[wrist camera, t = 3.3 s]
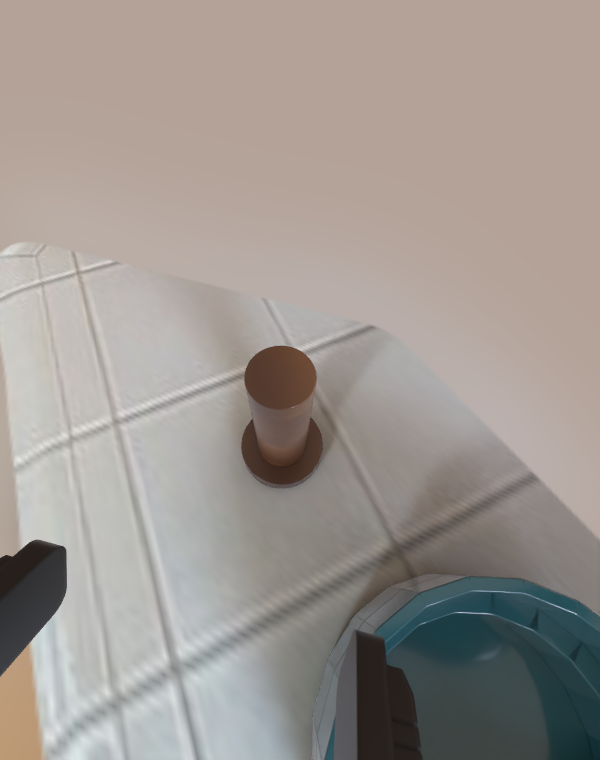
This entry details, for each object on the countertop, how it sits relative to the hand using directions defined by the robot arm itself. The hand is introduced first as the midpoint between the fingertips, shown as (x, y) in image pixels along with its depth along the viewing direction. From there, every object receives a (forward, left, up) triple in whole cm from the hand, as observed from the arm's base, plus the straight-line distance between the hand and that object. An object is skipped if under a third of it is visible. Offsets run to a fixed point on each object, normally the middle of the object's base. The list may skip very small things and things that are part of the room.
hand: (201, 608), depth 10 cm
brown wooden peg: (-4, -7, -13) cm, 15 cm away
